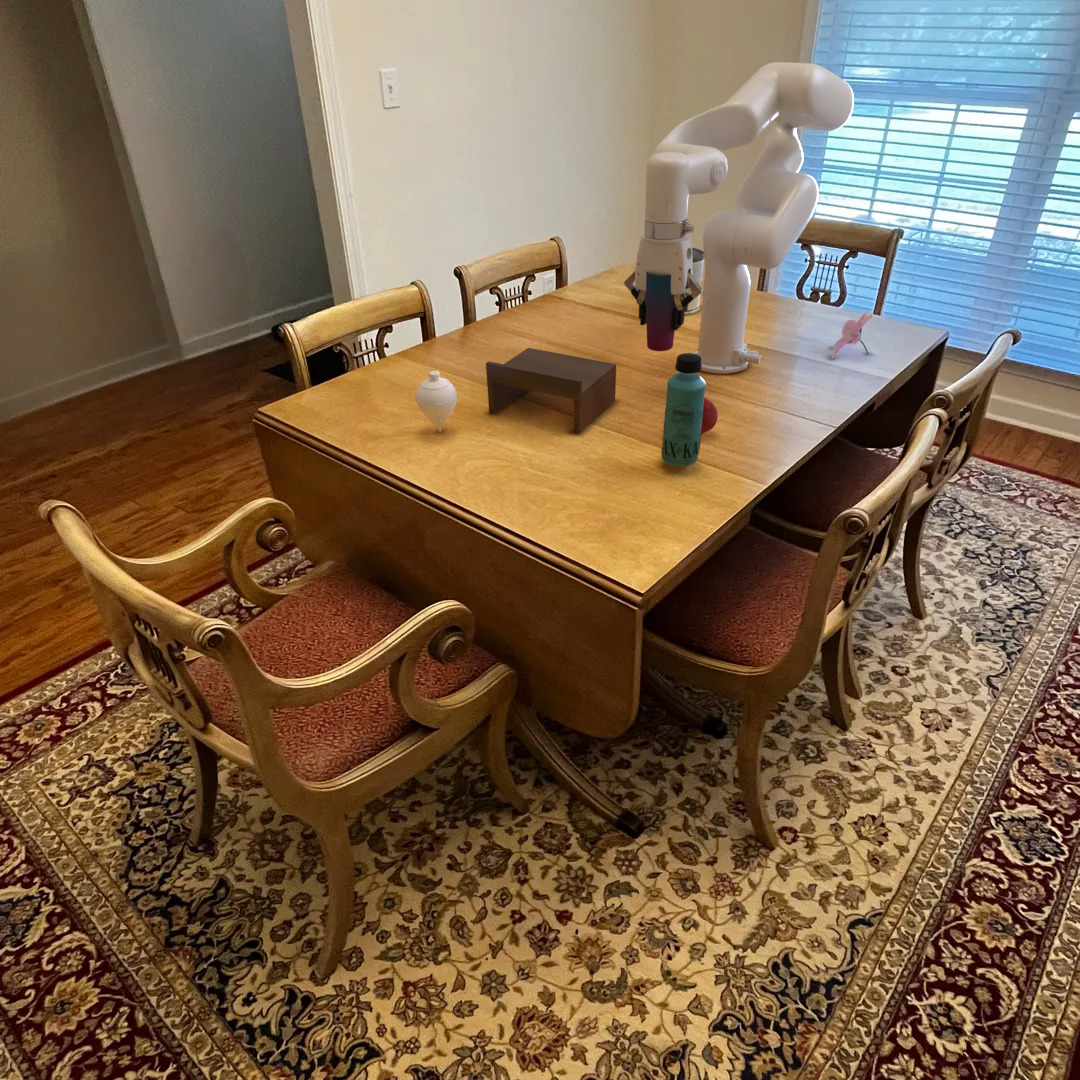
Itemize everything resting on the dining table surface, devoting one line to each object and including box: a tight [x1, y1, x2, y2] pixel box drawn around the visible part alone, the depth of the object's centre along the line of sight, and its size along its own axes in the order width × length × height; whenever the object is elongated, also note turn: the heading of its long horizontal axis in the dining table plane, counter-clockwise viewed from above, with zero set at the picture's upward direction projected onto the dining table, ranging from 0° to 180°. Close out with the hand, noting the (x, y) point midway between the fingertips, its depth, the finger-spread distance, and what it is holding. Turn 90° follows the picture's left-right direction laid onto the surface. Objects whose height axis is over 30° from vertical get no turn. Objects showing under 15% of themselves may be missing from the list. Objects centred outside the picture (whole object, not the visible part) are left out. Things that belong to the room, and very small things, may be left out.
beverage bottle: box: [660, 352, 707, 468], centre depth 132 cm, size 6×7×20 cm
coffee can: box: [684, 247, 705, 316], centre depth 202 cm, size 10×10×14 cm
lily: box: [831, 309, 874, 359], centre depth 176 cm, size 12×12×10 cm
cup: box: [646, 272, 676, 352], centre depth 152 cm, size 7×7×15 cm
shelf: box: [485, 347, 617, 435], centre depth 156 cm, size 16×20×10 cm
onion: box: [700, 395, 719, 436], centre depth 145 cm, size 6×6×8 cm
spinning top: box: [415, 370, 458, 433], centre depth 148 cm, size 8×8×12 cm
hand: (660, 324), depth 154 cm, fingers closed on cup, 6 cm apart
